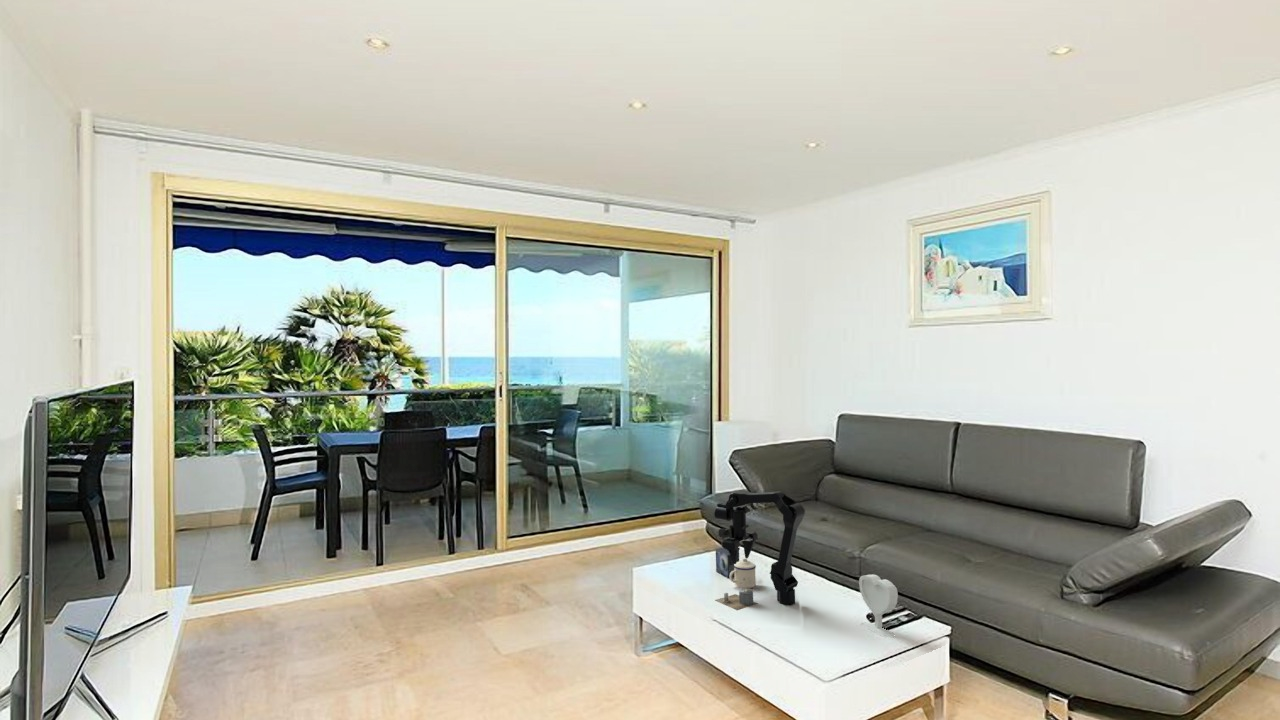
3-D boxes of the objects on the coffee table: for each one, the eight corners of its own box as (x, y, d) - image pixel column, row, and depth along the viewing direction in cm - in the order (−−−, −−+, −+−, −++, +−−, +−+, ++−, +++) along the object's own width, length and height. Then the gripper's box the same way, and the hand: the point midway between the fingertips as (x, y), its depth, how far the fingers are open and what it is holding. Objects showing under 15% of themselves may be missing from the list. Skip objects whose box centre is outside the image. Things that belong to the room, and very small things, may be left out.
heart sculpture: (858, 622, 244) (857, 572, 244) (869, 620, 246) (868, 570, 246) (888, 639, 230) (887, 586, 229) (900, 636, 231) (899, 584, 231)
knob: (739, 599, 267) (739, 586, 267) (753, 600, 266) (753, 587, 266) (739, 604, 262) (738, 591, 261) (753, 605, 261) (752, 591, 260)
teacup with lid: (747, 581, 291) (747, 553, 290) (760, 587, 282) (760, 559, 282) (724, 585, 285) (723, 558, 285) (736, 592, 277) (735, 564, 277)
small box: (715, 571, 304) (714, 548, 304) (727, 569, 307) (727, 546, 307) (727, 578, 294) (727, 554, 294) (740, 576, 297) (740, 552, 297)
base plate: (758, 605, 262) (758, 595, 262) (737, 612, 256) (736, 602, 256) (735, 596, 273) (735, 586, 273) (714, 602, 267) (714, 592, 267)
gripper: (734, 515, 289) (735, 552, 289) (709, 524, 275) (711, 563, 274) (757, 518, 282) (759, 556, 282) (733, 528, 267) (735, 568, 267)
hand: (740, 560), depth 277 cm, fingers open, 9 cm apart
